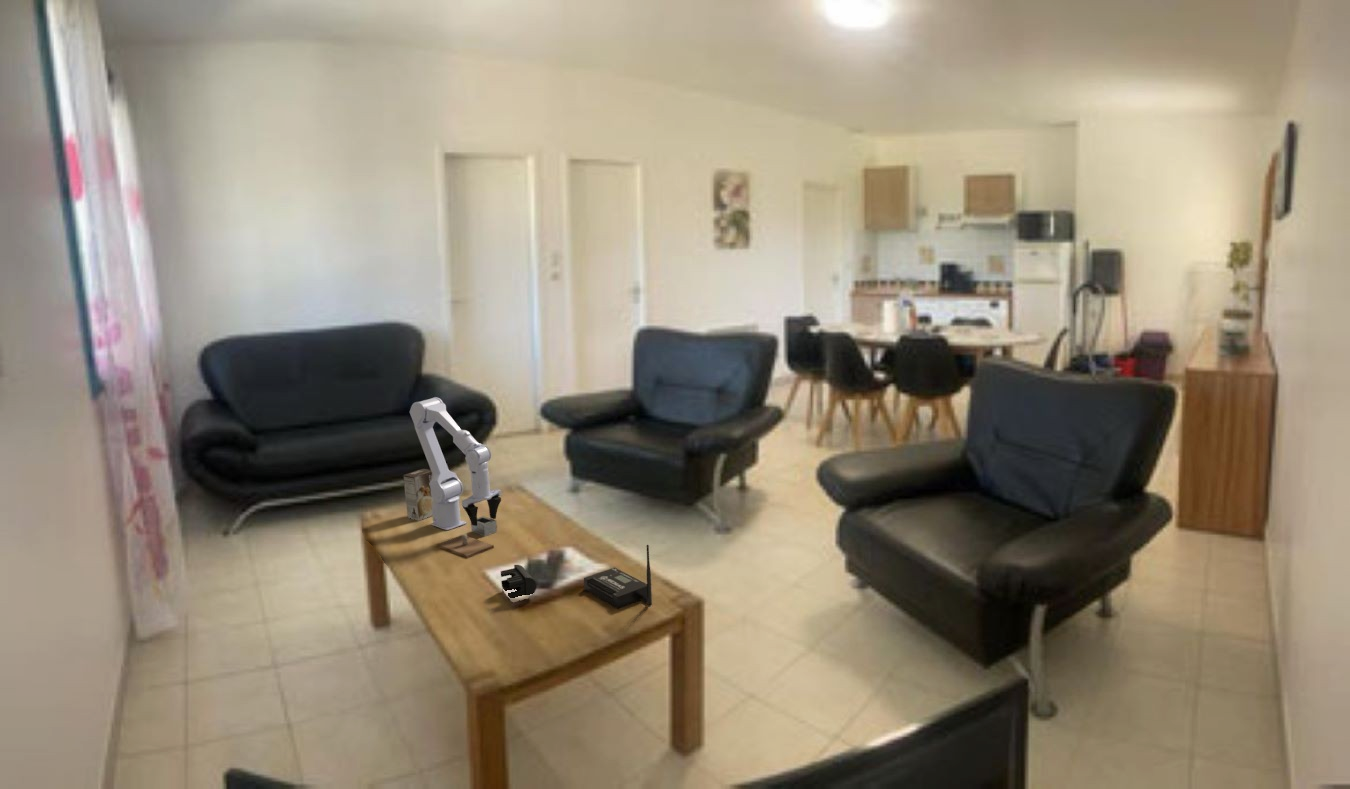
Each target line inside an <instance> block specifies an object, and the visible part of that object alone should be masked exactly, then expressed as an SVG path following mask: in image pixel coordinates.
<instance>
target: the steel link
mask: <svg viewBox="0 0 1350 789" xmlns="http://www.w3.org/2000/svg"><path fill="white" fill-rule="evenodd" d="M470 525H471V527H470V528H471V533H475V534H477V535H480V536H482V537H487V536H489V535H492V534H495V533H497V532H498V529H497V527H498V526H497V525H498V524H497V520H496V519H492V518H490V517H486V516H484V515H483V516H480V517H477V526H474V525H472V524H471V523H470Z"/></svg>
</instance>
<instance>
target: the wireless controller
mask: <svg viewBox="0 0 1350 789" xmlns="http://www.w3.org/2000/svg"><path fill="white" fill-rule="evenodd" d="M649 549H650V546H649V544H646V582H643V581H642V580H639V579H638V578H636V577H634V576H632V575H630V574H628V573H626V572H624V571H622V570H621V569H618V568H616V567H612V568H609V569H606V570H603V571H600V572H598V573H595V574H592V575H589V576H586V577H583V588H584V590H585V592H588V593H590V594H591V595H593V596H595V597H597V598H598V599H600V600H602V601H603V602H605V603H607V604H608V605H610V606H612V607H613V608H615V609H617V610H620V609H623V608H625V607H627V606H630V605H632V604H636V603H638V602H641V601H642V602H645V603H646V604H647V605H648V606H652V605H653V602H652V599H653V594H652V576H651V575H652V573H651V564H650V563H651V562H650V550H649Z"/></svg>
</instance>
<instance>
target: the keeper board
mask: <svg viewBox="0 0 1350 789" xmlns="http://www.w3.org/2000/svg"><path fill="white" fill-rule="evenodd" d="M436 547H437V548H441V549H442V550H446V551H448V552H450V553H453V554H456V555H458V556H462V557H464V558H467V559H468V558H471V557H474V556H476V555H478V554H482V553H483V552H487V551H489V550H491V549H494V548H495V546H494V544H490V543H488V542H485V541H482V540H480V539H477V538H475V537H472V536H468V534H466V533H464V534H461V535H459V536H455V537H453V538H449V539H446V540H444V541H442V542H438V543H437V544H436Z"/></svg>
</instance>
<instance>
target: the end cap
mask: <svg viewBox="0 0 1350 789" xmlns="http://www.w3.org/2000/svg"><path fill="white" fill-rule="evenodd" d="M507 576H510V577H507ZM500 577H501V578H503V577H507V578H506V579H504V580H501V581H500V582H501V588H502V590H503V589H504V590H505V591H507V590H512V589H514V590H515V589H516V590H517V591H515V592H511V593H508V596H509V597H510V598H515V597H518V596H522V595H530V594H533V593H534V594H535V592H536V590H537V582H536V580H535V578H534V577H533V576H531V574H530V573H529V572H528V571H527V570H526V569H525V567H523V566H522V565H520V564H513V568H510V569H505V570H501V571H500ZM534 594H533V595H534Z"/></svg>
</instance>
